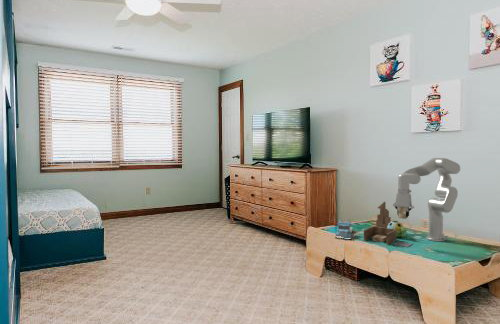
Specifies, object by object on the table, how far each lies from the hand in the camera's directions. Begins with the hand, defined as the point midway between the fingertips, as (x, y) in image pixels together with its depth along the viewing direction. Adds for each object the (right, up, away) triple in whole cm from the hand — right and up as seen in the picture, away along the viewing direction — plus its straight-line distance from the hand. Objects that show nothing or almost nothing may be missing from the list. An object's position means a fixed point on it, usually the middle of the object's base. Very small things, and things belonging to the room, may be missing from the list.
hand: (403, 216), depth 260 cm
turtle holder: (+5, -20, +23) cm, 31 cm away
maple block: (0, -1, 0) cm, 1 cm away
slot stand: (-12, -20, +13) cm, 27 cm away
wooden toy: (+2, -19, +40) cm, 45 cm away
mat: (0, -21, +1) cm, 21 cm away
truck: (-35, -20, +31) cm, 50 cm away
